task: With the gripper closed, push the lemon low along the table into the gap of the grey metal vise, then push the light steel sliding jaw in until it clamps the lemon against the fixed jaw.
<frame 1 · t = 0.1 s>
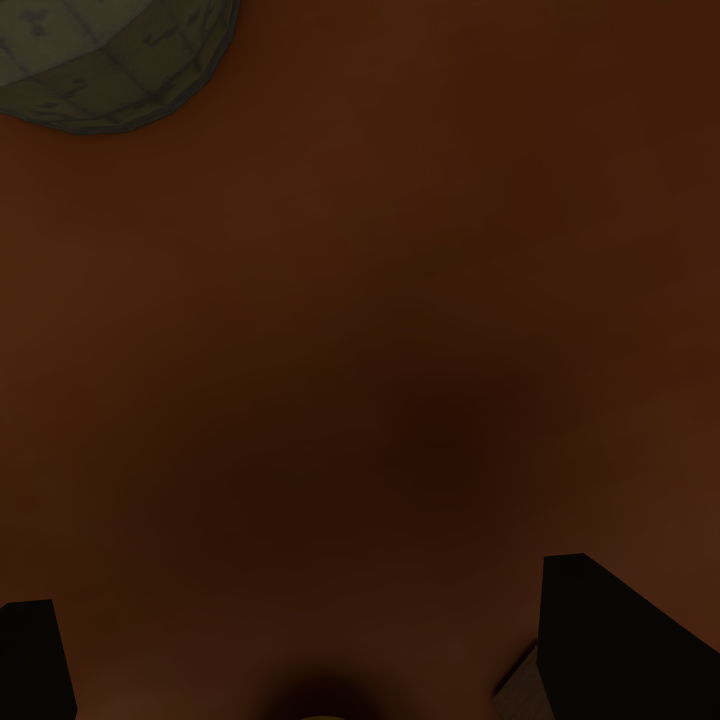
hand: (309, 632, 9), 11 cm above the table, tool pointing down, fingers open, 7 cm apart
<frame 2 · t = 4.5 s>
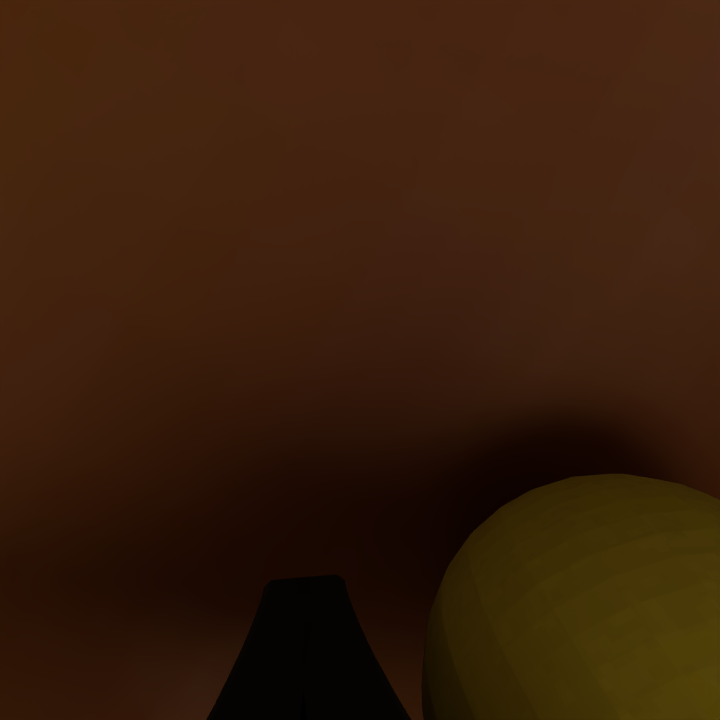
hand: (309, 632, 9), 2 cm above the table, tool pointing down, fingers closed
lemon: (528, 528, 12), on the table, touching gripper
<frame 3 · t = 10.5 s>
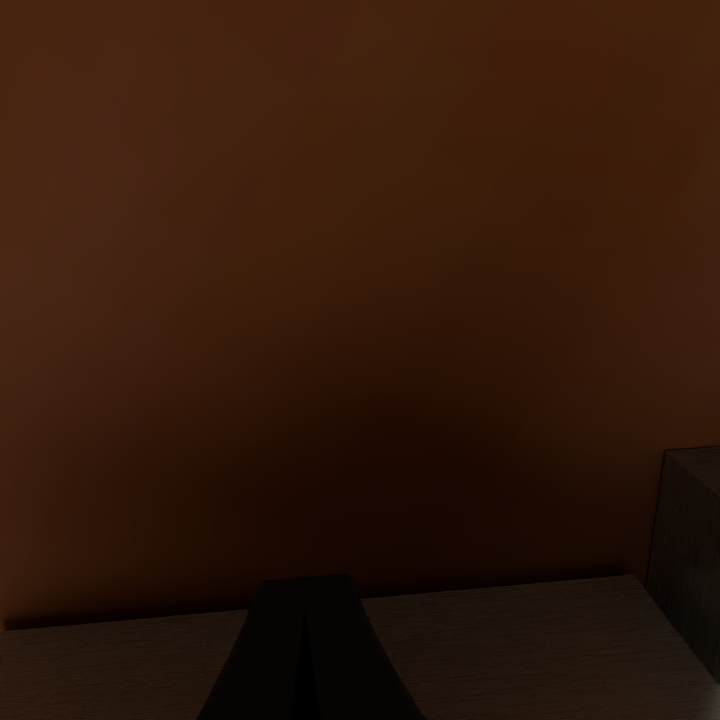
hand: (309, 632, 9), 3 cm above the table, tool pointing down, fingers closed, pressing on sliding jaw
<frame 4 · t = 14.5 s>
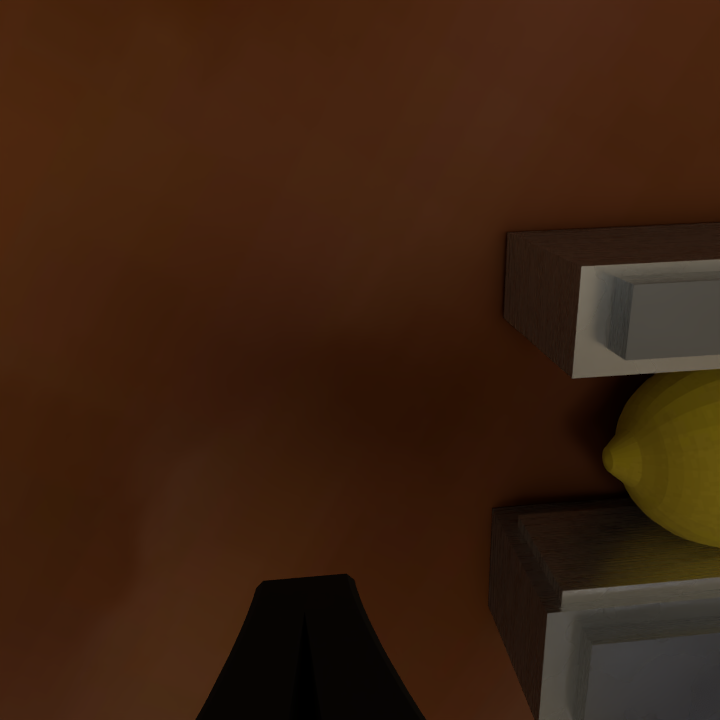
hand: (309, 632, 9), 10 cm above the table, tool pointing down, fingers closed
lemon: (596, 460, 18), point 3 cm above the table, touching vise body
vise body: (697, 370, 20), on the table
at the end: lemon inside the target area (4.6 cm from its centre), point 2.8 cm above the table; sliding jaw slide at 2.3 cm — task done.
